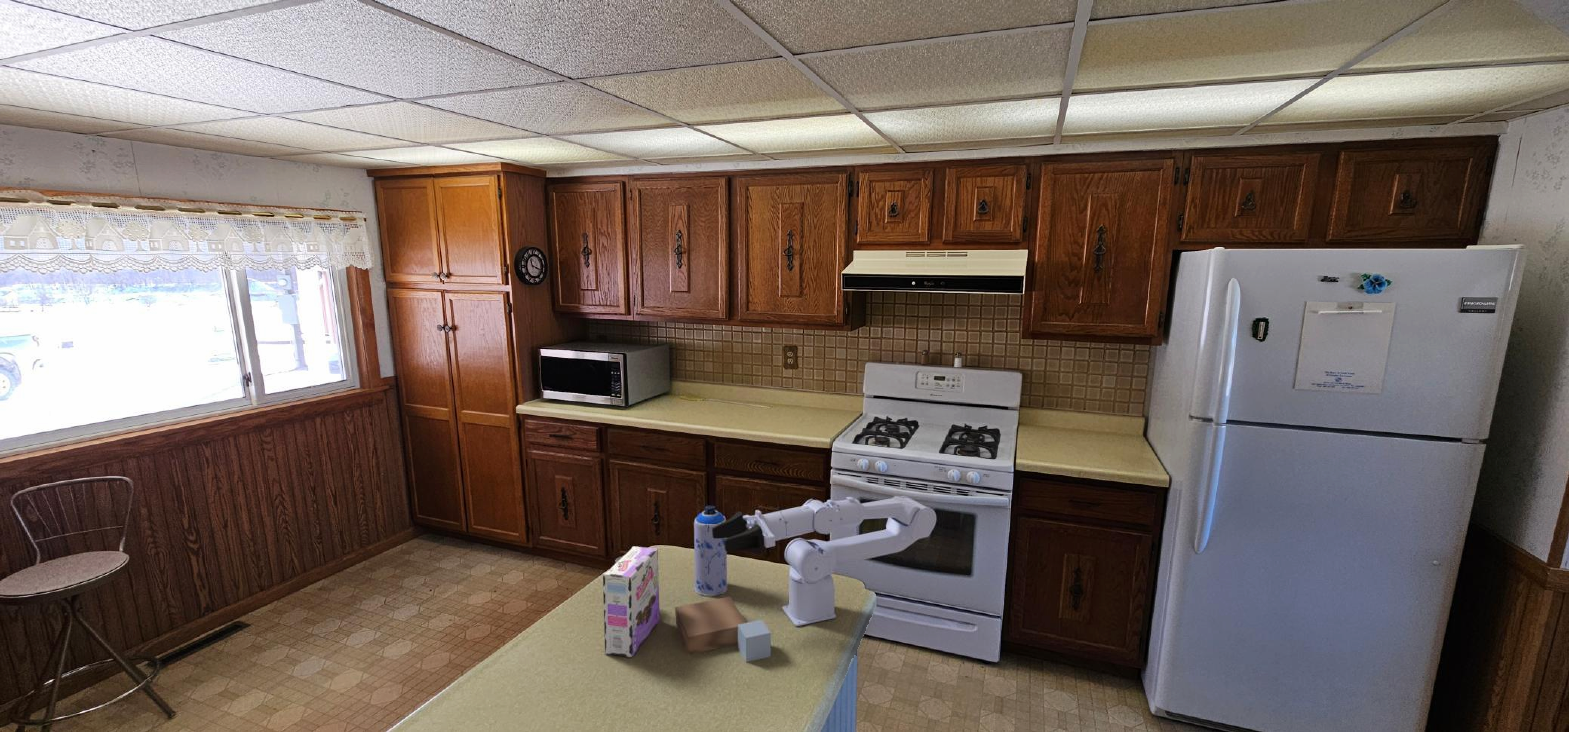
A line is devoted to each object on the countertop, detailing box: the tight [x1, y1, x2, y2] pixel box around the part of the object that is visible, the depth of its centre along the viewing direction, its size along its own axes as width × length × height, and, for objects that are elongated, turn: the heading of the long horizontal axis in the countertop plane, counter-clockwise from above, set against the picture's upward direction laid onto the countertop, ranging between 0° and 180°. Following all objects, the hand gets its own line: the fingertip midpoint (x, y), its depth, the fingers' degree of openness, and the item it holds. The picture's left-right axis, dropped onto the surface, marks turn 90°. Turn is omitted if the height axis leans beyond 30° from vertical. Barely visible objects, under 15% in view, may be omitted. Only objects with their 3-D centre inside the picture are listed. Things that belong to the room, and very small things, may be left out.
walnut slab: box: [674, 596, 747, 655], centre depth 127 cm, size 12×12×4 cm
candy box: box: [602, 546, 660, 658], centre depth 124 cm, size 14×6×16 cm, turn 168°
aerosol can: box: [693, 504, 729, 597], centre depth 144 cm, size 8×8×20 cm
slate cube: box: [737, 619, 772, 663], centre depth 120 cm, size 5×5×5 cm
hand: (718, 539), depth 123 cm, fingers open, 7 cm apart
